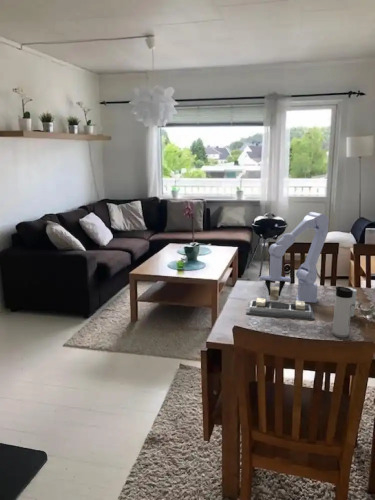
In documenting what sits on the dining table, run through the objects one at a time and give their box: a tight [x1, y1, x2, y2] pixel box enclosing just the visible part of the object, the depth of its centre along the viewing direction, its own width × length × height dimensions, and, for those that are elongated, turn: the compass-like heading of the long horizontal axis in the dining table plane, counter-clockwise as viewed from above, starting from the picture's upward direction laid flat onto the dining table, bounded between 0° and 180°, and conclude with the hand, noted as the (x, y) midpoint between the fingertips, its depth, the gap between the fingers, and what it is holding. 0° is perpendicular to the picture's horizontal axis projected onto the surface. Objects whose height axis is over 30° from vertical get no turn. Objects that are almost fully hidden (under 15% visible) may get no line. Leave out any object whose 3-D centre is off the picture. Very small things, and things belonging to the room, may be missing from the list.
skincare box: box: [348, 287, 358, 317], centre depth 187 cm, size 6×4×12 cm
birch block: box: [269, 285, 280, 301], centre depth 202 cm, size 4×6×5 cm, turn 167°
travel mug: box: [331, 286, 353, 339], centre depth 165 cm, size 6×7×20 cm
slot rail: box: [245, 297, 316, 321], centre depth 191 cm, size 30×13×5 cm, turn 77°
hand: (274, 295), depth 203 cm, fingers closed on birch block, 4 cm apart
